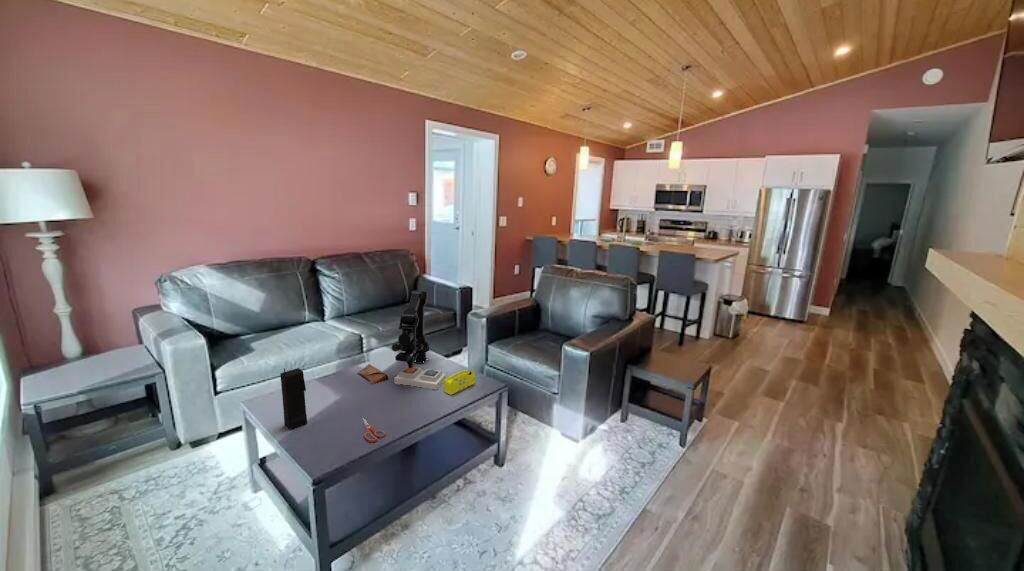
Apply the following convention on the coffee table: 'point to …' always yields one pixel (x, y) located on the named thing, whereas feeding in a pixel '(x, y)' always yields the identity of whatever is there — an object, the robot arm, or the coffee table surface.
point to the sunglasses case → (372, 374)
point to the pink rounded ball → (410, 369)
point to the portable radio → (293, 398)
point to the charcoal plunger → (431, 373)
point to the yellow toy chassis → (459, 381)
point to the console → (420, 378)
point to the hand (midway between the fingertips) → (410, 367)
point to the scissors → (371, 429)
